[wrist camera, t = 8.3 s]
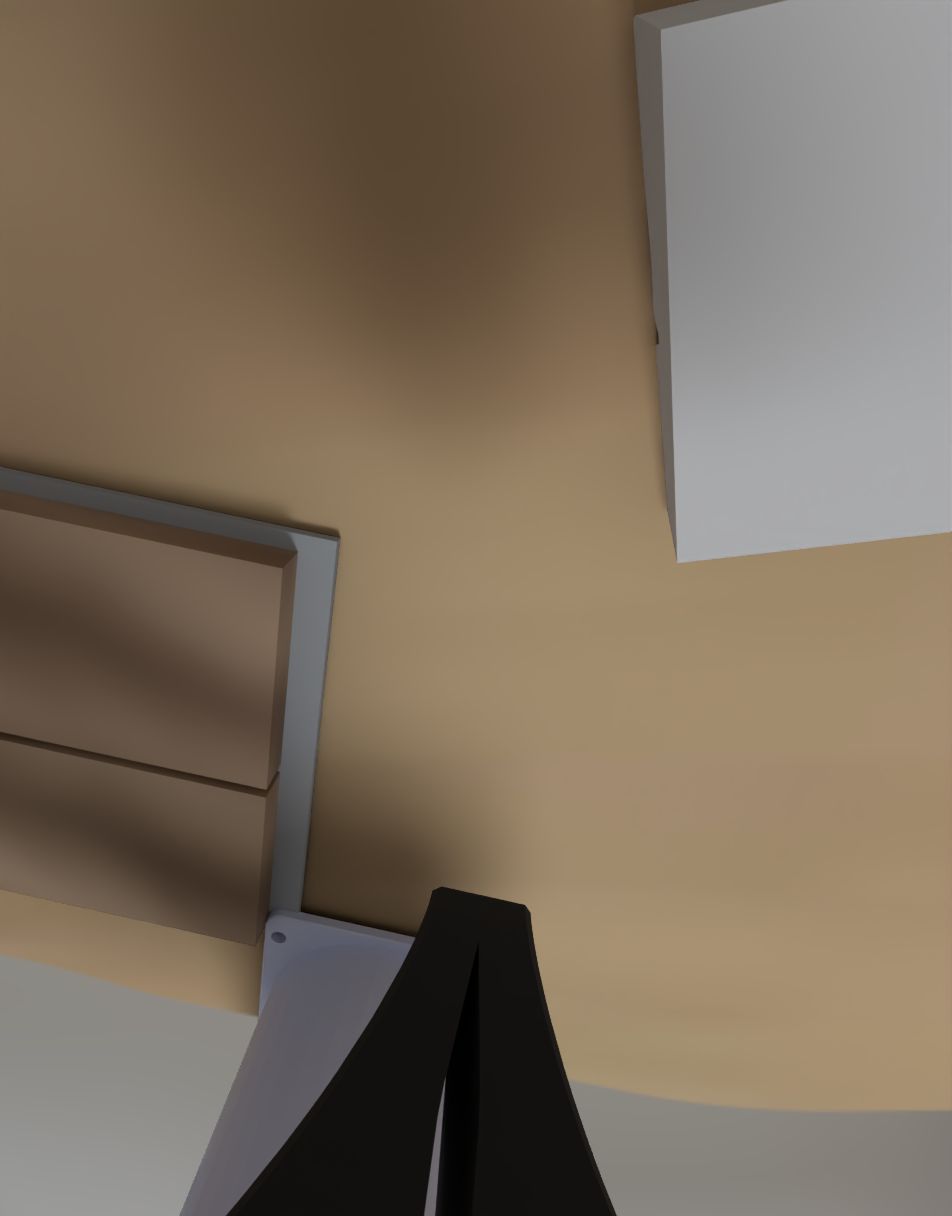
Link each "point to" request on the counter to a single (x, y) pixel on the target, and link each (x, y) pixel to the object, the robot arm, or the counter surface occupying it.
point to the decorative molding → (800, 268)
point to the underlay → (305, 647)
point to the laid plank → (136, 839)
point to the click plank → (144, 639)
